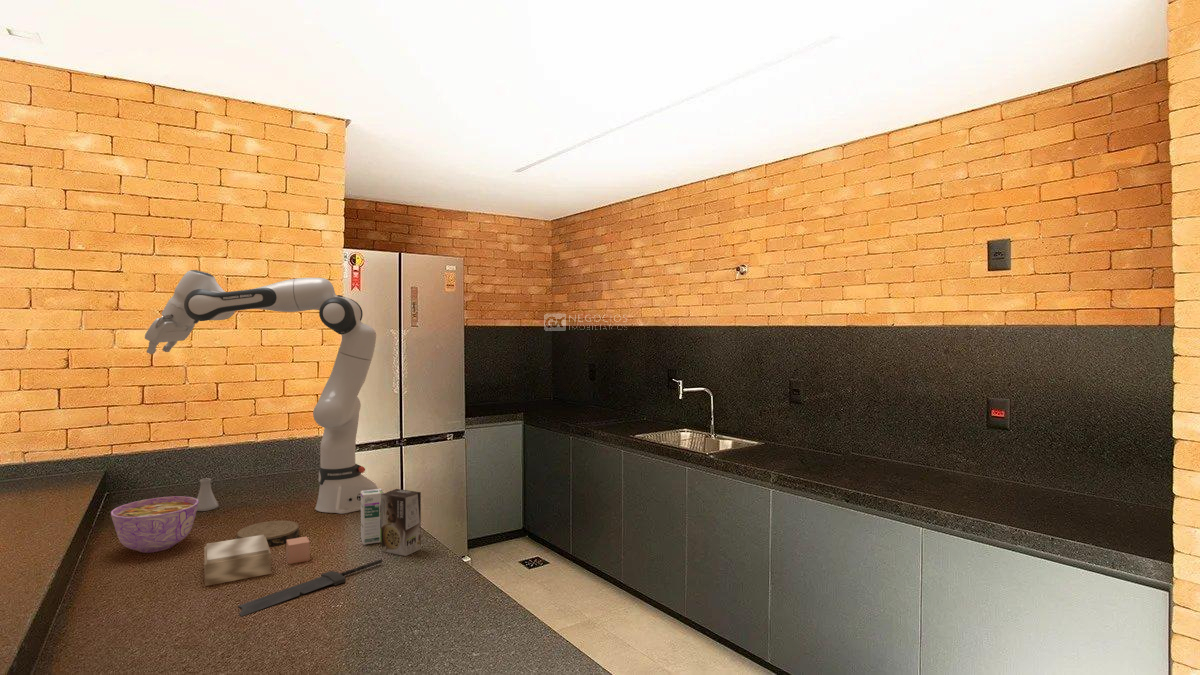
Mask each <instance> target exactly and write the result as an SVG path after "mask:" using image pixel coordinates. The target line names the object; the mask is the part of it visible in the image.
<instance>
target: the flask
mask: <svg viewBox="0 0 1200 675" xmlns="http://www.w3.org/2000/svg"><path fill="white" fill-rule="evenodd" d="M211 481H212V478H210V477H208V478H207V477H206V478H202V479H199V482H200V485H199V486H200V488H199V492H198V494H197V496H196V499H198V501H199V503H198V507H197V511H196V512H208V511H211V510H216V509H217V508H218V507H220V504H219V503H218V501H217V499H216V497H215V494H214V492H213V490H212V485H211Z"/></svg>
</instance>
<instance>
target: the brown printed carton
mask: <svg viewBox="0 0 1200 675" xmlns="http://www.w3.org/2000/svg"><path fill="white" fill-rule="evenodd" d="M383 493H384V492H383ZM421 493H422V492H421V491H414V490H407V489H399V488H395V489H391V490H390V491H387V492H385V493H384V494H381V538H382V542H381V552H384V553H389V554H394V555H400V556H404V557H407V556H409V555H411V554H414V553H416V552H418V551H420V550H421V549H422V547H421V546H422V545H421V544H422V543H421V542H422V540H421V539H422V538H421V537H422V536H421V535H422V534H421V533H422V531H421V530H422V529H421V526H422V524H421V523H422V520H421V519H422V518H421V517H422V516H421V515H422V514H421V513H422V511H421V510H422V508H421V507H422V505H421V502H422V501H421V499H422V498H421V497H422V494H421Z"/></svg>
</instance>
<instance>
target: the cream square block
mask: <svg viewBox="0 0 1200 675" xmlns="http://www.w3.org/2000/svg"><path fill="white" fill-rule="evenodd" d="M205 544H206V545H205V546H204V547H203V554H204V556H203V562H204V563H203V565H204V567H203V568H204V569H203V570H204V571H203V572H204V586H205V587H208V586H213V585H218V584H223V583H228V582H234V581H238V580H239V581H241V580H243V579H244V580H245V579H248V578H255V577H260V576H265V575H266V576H267V575H270V574H272V552H271V548H270V547H269V545H268V542H267V539H266V537H264V535H258V536H252V537H246V538H239V539H237V538H235V539H227V540H222V541H215V542H214V541H213V542H208V543H205Z"/></svg>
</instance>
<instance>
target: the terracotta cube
mask: <svg viewBox="0 0 1200 675" xmlns="http://www.w3.org/2000/svg"><path fill="white" fill-rule="evenodd" d="M285 545H286V548H285V549H286V551H285V552H286V553H285V554H286V555H285V556H286V561H287V563H288V565H292V564H298V563H303V562H308V561H310V560H311V559H310V558H311V556H310V554H311V552H310V549H311V548H310V540H309V538H308V536H302V537H301V536H300V537H297V538H294V539H288V540H286V543H285Z"/></svg>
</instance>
